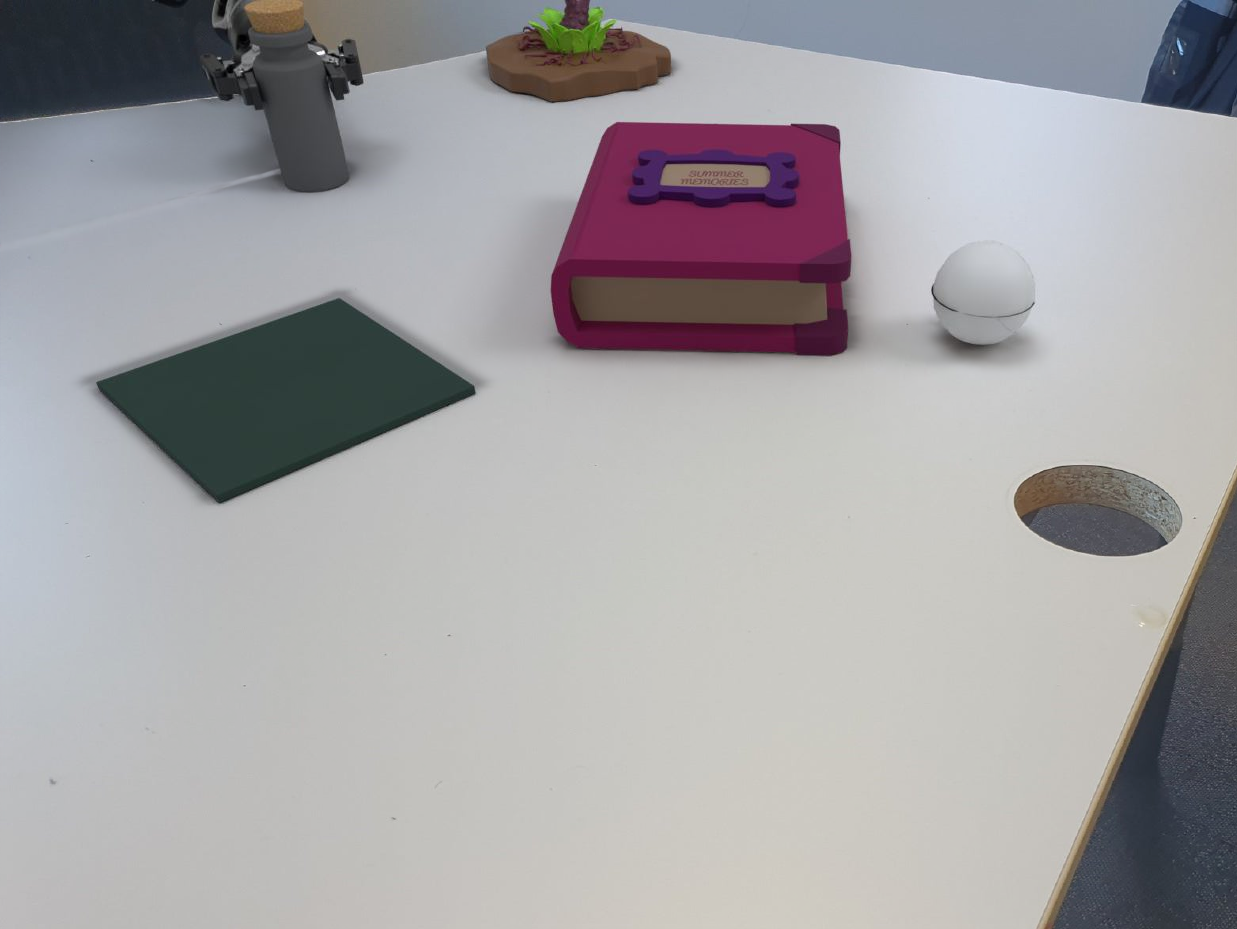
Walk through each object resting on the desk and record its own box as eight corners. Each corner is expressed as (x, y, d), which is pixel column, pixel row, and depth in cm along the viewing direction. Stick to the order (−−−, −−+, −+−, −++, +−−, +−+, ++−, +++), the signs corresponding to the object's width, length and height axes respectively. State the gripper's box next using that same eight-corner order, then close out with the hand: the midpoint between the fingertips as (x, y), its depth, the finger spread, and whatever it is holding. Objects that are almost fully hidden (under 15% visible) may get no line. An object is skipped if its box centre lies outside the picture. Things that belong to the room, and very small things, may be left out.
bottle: (363, 175, 105) (324, 0, 96) (319, 196, 101) (274, 17, 92) (314, 164, 107) (271, -8, 98) (270, 185, 103) (220, 8, 93)
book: (557, 350, 81) (545, 250, 76) (605, 198, 102) (598, 112, 97) (847, 355, 81) (854, 256, 76) (835, 203, 102) (840, 117, 97)
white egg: (922, 314, 86) (932, 222, 81) (1018, 317, 86) (1035, 224, 81) (933, 381, 78) (945, 283, 74) (1039, 384, 78) (1058, 286, 74)
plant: (456, 67, 131) (440, -40, 124) (593, 38, 141) (586, -63, 134) (553, 111, 120) (541, -3, 113) (694, 76, 130) (692, -31, 123)
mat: (219, 503, 66) (216, 495, 66) (98, 389, 76) (95, 381, 75) (476, 393, 76) (474, 385, 76) (341, 304, 86) (339, 297, 85)
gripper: (357, 74, 113) (390, 126, 102) (205, 91, 109) (222, 148, 97) (340, -8, 109) (372, 38, 97) (180, 7, 104) (194, 56, 92)
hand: (297, 93), depth 97 cm, fingers open, 6 cm apart
